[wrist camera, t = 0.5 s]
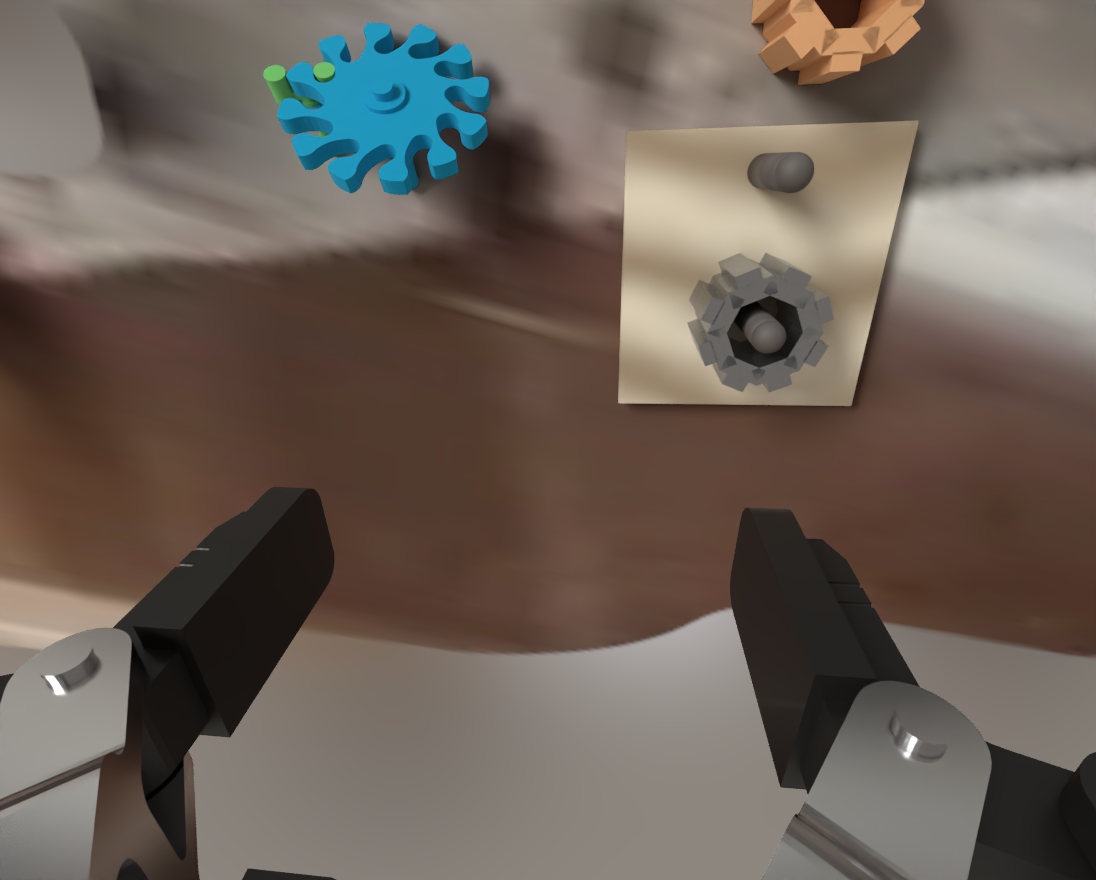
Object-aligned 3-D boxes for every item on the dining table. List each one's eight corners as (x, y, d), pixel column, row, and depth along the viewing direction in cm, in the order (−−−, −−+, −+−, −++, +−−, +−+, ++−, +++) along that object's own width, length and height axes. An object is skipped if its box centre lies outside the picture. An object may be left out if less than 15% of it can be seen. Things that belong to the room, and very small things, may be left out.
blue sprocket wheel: (521, 41, 26) (437, 199, 23) (523, 143, 32) (456, 281, 29) (314, -19, 27) (208, 126, 24) (351, 90, 33) (269, 218, 30)
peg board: (626, 132, 29) (631, 124, 23) (907, 122, 28) (996, 110, 21) (618, 395, 36) (620, 447, 29) (843, 398, 34) (897, 452, 28)
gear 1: (672, 280, 31) (682, 298, 27) (788, 232, 29) (816, 243, 25) (706, 379, 34) (719, 409, 30) (815, 340, 32) (845, 366, 28)
